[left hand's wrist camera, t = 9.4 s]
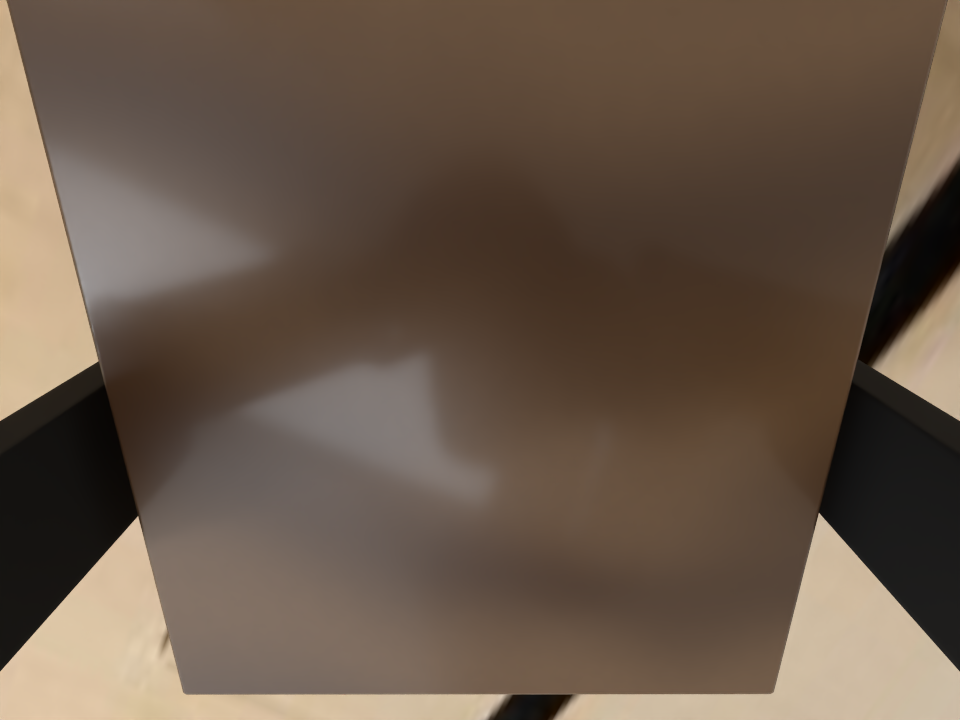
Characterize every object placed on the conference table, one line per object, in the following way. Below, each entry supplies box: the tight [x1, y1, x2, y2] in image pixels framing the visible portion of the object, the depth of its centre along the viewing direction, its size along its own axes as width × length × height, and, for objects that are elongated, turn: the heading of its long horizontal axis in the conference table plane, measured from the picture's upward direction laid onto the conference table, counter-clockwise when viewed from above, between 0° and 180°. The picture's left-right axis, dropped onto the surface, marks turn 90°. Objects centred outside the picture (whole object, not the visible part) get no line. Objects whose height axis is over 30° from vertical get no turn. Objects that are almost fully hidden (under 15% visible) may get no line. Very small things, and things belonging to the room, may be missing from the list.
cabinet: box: [7, 0, 948, 694], centre depth 12 cm, size 19×11×10 cm, turn 0°
